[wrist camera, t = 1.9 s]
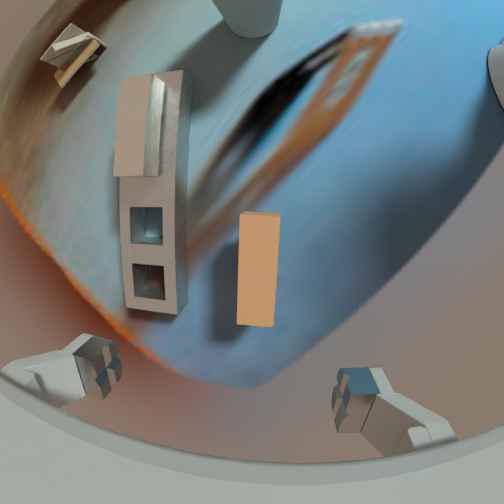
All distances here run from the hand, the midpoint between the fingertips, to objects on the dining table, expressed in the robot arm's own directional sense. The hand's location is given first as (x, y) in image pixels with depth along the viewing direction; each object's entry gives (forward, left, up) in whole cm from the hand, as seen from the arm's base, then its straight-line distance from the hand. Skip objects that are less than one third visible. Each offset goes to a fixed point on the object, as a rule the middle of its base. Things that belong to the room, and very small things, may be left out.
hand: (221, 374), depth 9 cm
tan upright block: (0, 0, -20) cm, 20 cm away
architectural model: (+23, -24, -21) cm, 39 cm away
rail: (+11, -6, -20) cm, 23 cm away
